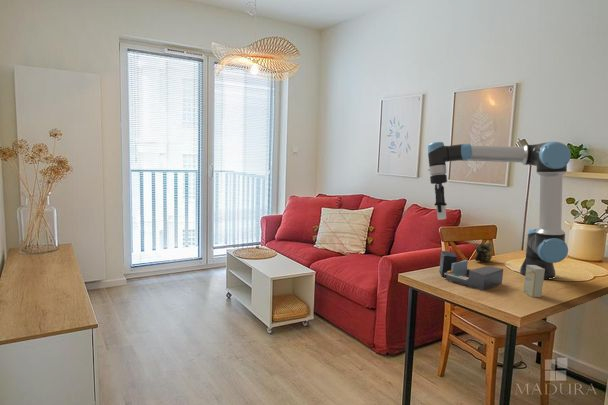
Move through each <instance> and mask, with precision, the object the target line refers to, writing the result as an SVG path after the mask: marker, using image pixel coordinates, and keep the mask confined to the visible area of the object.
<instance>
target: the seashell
mask: <svg viewBox="0 0 608 405" xmlns="http://www.w3.org/2000/svg"><path fill="white" fill-rule="evenodd" d="M492 246H493V245H492V243H491V242H488V243H479V244H477V245H476V246H475V251H476V256H475V259H474V260H475V262H476V261H477V262H484V263H487V262H490V261H491V259H492V258H493V257H492V253H491V252H492V251H493V249H492Z"/></svg>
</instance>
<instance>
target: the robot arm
mask: <svg viewBox="0 0 608 405" xmlns="http://www.w3.org/2000/svg"><path fill="white" fill-rule="evenodd" d="M427 156H428V158H427V159H428V165H429V168H428V170H427V171H429V175H430V176H429V177H430V178H429V179H430V180H429V181H430V184H431V185H434V193H435V194H434V195H435V203H434V206H435V207H436V216H437V220H438V221H439V220H440V221H441V220H443V221H444V220H447V212H446V211H447V210H446V206H447V203H446V200H445V187H444V185H443V184H445V183H447V182H448V176H447V166H446V163H447V162H456V161H460V162H461V161H463V162H464V161H467V162H495V163H496V162H499V163H521V164H522V165H525V166H534V167H536V174H537V175H539V218H538V220H539V221H538V222H539V224H538V225H539V227H538V228H529V229H528V231H527V234H526V235H527V241H526V250H525V258H524V260H523V262H522V264H521V266H520V270H519V272H520V274H521V275H523V276H525V274H526V267H527V265H537V266H539V267H541V268H543V269H545V273H544V280H550V279H549V278H553V277H555V278H556V270H555V266H554V264H556V263H560V262H561V261H564V260H565V259H566V258H567V256H568V253H569V246H568V245H567V242H566V232H565V231H564V230H563V229H562V208H563V207H562V206H563V204H562V203H563V176H564V175H565V174H566V173H567V170H568V169H567V167H568V166H567V165H568V164H569V162H570V160H571V156H572V155H571V150H570V148H569V146H567V145H566V144H564V143H563V142H559V141H547V142H542V143H536V144H525V145H523V146H504V145H503V146H502V145H501V146H500V145H499V146H498V145H496V146H495V145H472V144H470V143H461V144H453V145H445V143H444V142H442V141H436V142H431V143H429V144H428V145H427Z"/></svg>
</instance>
